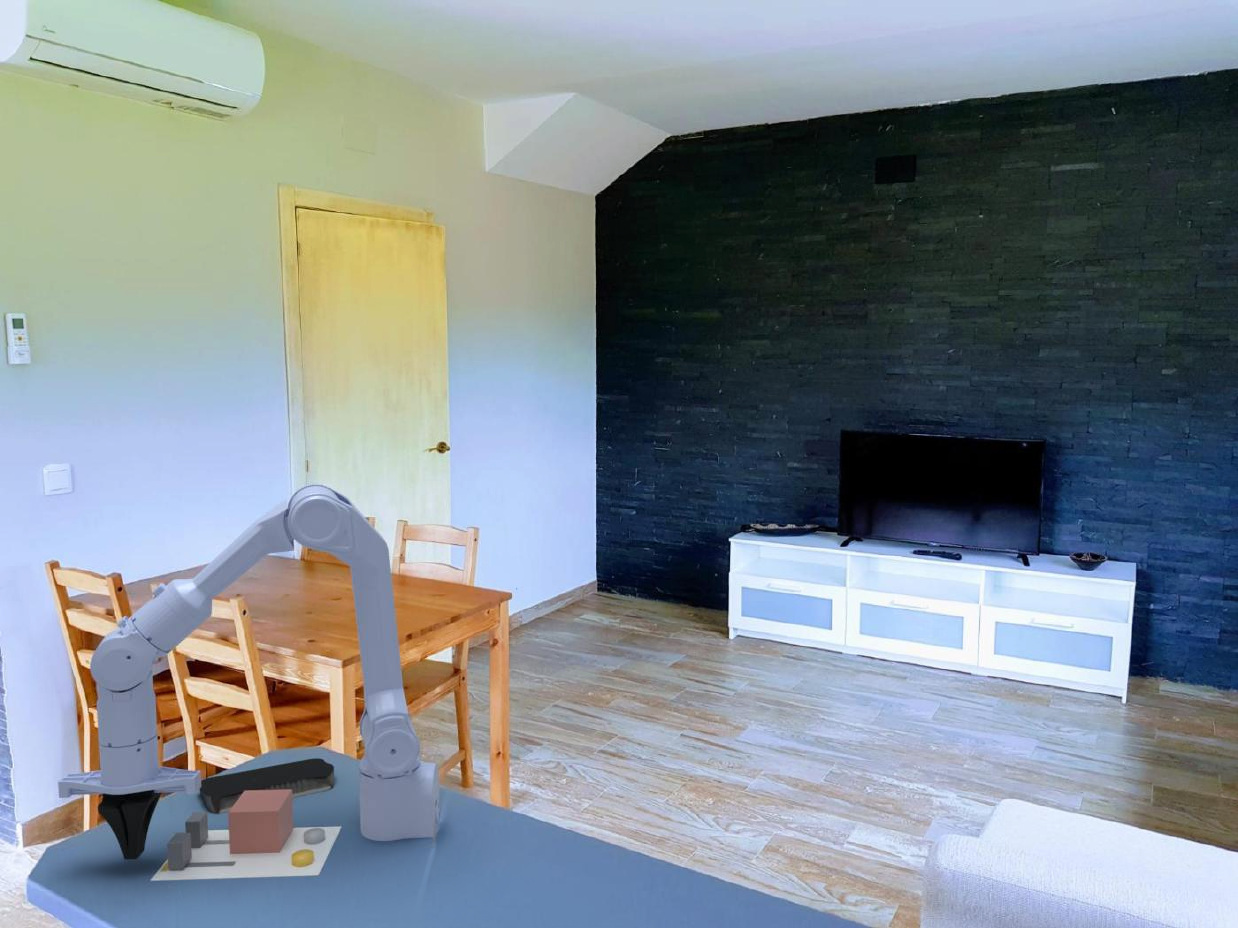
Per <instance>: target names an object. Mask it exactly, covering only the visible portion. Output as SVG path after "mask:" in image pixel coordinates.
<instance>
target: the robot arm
mask: <svg viewBox="0 0 1238 928" xmlns="http://www.w3.org/2000/svg"><path fill="white" fill-rule="evenodd" d="M294 540H295V541H294ZM295 542H296V543H298V544H299V545H301V546H303V547H305V548H308V549H311V550H315V551H318V552H325V553H328V554H331V556H334V557H335V558H337V560H340V561H341V562H343V563H344V564H346V565H348V567H349V568H350V576H351V586H352V595H353V603H354V604H353V605H354V611H355V613H354V614H355V621H356V622H355V623H356V629H357V638H358V639H357V640H358V646H359V648H358V649H359V657H360V665H361V666H360V667H361V674H362V683H363V699H364V700H363V701H364V709H363V713H362V714H361V715H362V716H361V717H360V719H359V720H360V721H359V729H358V730H359V734H360V736H361V738H362V742H363V746H364V754H363V756H362V758H361V759H360V761H359V763H358V777H359V778H358V780H359V781H358V783H359V785H358V786H359V816H360V817H359V821H360V822H359V825H360V833H361V835H362V836H363V837H365V838H366V839H368V840H371V841H376V842H393V841H398V840H404V839H421V838H425V839H426V838H432V841H431V844H430V849H433V847H434V844H435V840H436V835H437V833H438V829H439V825H440V821H441V809H440V775H439V773H440V772H439V765H438V763H437V762H436V763H435V762H429V761H427V762H426V761H423V760H421V757H420V753H421V743H420V742H421V741H420V740H419V736H418V735H417V733H416V731H415V728H414V726H413V723H412V719H411V713H410V712H409V710H408V704H407V700H406V697H405V696H406V695H405V689H404V682H403V681H404V680H403V671H402V663H401V653H400V645H399V636H398V625H397V617H396V615H397V614H396V609H395V608H396V607H395V598H394V590H393V588H394V587H393V578H392V570H391V562H390V560H391V559H390V551H389V547H388V543H387V542H386V539H385V538H384V537H383V536H382V534H381V533H380V532H379V531H378V530H377V529H376V528H375V527H374V526H373V524H371V522H370V521H369V520H368V519H367V518H366V517H365V516H364V515H363V514H362V513H361V512H360V510H358V508H357V507H356V506H355V505H354V503H352V501H351V500H350V499H349V498H348V497H347V496H345V495H344V494H342V493H340V492H338V491H336V490H334V489H332V488H331V487H329V486H327V485H323V484H318V483H314V484H313V483H312V484H308V485H307V484H306V485H304V486H302V487H301V488H299V489H298V490H296V491H295V492H294V493H293V494H292V496H291V497H290V499H289V502H287V499H284V500H282V501H281V502H279V503H277V504H276V505H275V506H274V507H272V508H270V509H269V510H268V511H267V512H265V513H264V514H263V515H262V516H260V517H259V518H257V519H256V520H255V521H253V523H251V524H250V525H249V527H248V528H246V529H245V530H244V531H243V532H242V533H241V534H240V535H239V536H238V537H237V538H235V539H234V540H233V542H231V543H230V544H229V545H228V546H227V547H226V548H224V549H223V550H222V551H221V552H220V553H219V554H218V555H217V556H216V557H215V558H214V559H213V560H212V561H210V562H209V564H207V565H206V566H205V567H204V568H203V569H202V570H201V571H200V572H199V573H198V574H197V575H195V576H194V577H192V578H185V579H184V578H177V579H173V580H172V581H170V582H169V583H168V584H167V585H166V584H165V583H164V582H160V583H159V584H158V585H157V586H155V588H153V590H152V592H151V594H152V595H153V596H152V598H151V599H150V600H148V601H147V602H146V603H145V604H143V605H142V606H140V608H139V609H138V610H137V611H135V612H134V613H133V614H131V616H130V617H128V616H126V615H124V616H123V617H122V618H121V619H119V620H118V622H117V623H116V626H117V628H116V629H113V630H112V631H110V632H109V633H107V634H106V635H104V636H105V637H103V639H101V642H100V643H99V644H98V646H97V648H96V649H95V651H94V652H93V654H92V656H91V660H90V663H89V664H90V665H89V668H90V669H89V670H90V673H91V677H92V679H93V680H94V681H95V682H96V692H97V700H96V713H97V715H96V717H97V733H98V750H99V768H100V769H99V770H92V771H87V772H86V771H85V772H77V773H67V774H65V775H64V776H63V777H62V778H61V779H60V780H57V781H58V782H57V783H58V785H57V786H58V798H59V799H63V798H64V799H65V798H66V799H67V798H71V797H72V796H77V795H78V796H81V795H82V796H83V795H102V798H101V802H100V803H99V804H98V805H97V811H98V814H99V815H101V817H102V818H103V819H104V820H105V821H106V823H107V824H108V826H109V827H110V828H111V830H112V832H113V834H114V835H115V838H116V841H117V843H118V845H119V847H120V850H121V853H122V855H123V859H124V860H137V859H138V858H140V856H141V855H142V854H143V853H144V851H145V849H146V847H145V846H146V842H147V841H146V840H147V835H148V832H149V828H150V825H151V824H150V823H151V821H152V818H153V814H154V812H155V809H156V807H157V806H158V803H159V801H160V798H161V796H162V795H163V793H185V795H195V794H197V792H198V791H200V790H199V789H200V787H201V780H202V772H201V771H202V770H199V769H198V770H193V769H192V770H189V769H180V768H177V767H176V768H175V767H167V766H162V765H161V766H160V764H159V763H160V761H159V745H158V744H159V743H158V724H157V704H156V703H157V701H156V693H155V690H154V680H153V669H152V668H153V664H154V663H155V662H156V660H157V659H160V658H163V657H166V656H167V655H168V654H170V653H171V652H172V651H174V649H175V648H176V647H178V646H179V645H180V644H181V643H182V642H183V641H184V640H186V639H187V638H188V637H189V636H190V635H191V634H193V633H194V632H195V631H196V630H197V629H198V628H199V627H200V626H202V625H203V624H204V623H205V622H206V621H207V620H208V619H209V618H211V617H212V614H213V599H215V598H216V597H217V596H219V595H220V594H221V593H222V592H223V591H225V590H226V589H227V588H229V586H231V585H233V583H235V582H236V581H237V580H238V579H239V578H240V577H242V576H243V575H244V574H246V573H247V572H248V571H249V570H251V569H252V568H253V567H254V566H255V565H256V564H258V563H260V561H261V560H262V559H263V558H265V557H267V556H268V555H270V554H276V553H277V554H279V553H286V552H292V551H294V550H295Z"/></svg>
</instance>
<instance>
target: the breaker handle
mask: <svg viewBox="0 0 1238 928" xmlns="http://www.w3.org/2000/svg"><path fill="white" fill-rule="evenodd" d="M166 847H167V859H168V870H171V869H184V867H185V866H186V865H187V864H188V862H189V861H190V860H191V858H192V852H191V833H186V832H176V833H175V834H174V835H173V836H172V837H171V838H170V840H169V841H168V842H167V846H166Z"/></svg>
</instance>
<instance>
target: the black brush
mask: <svg viewBox="0 0 1238 928" xmlns="http://www.w3.org/2000/svg"><path fill="white" fill-rule="evenodd" d="M334 786H335V766H334V765H333V764H332V763H328V762H327V761H325V759H323V758H309V759H302V760H298V761H297V760H296V761H290V762H286V763H282V764H280V763H279V764H277V765H270V766H266V767H265V766H264V767H259V768H254V769H250V770H245V771H239V772H234V773H228V774H221V775H217V776H211V777H207V778H204V779H201V787H200V789H199V790H198V791H199V792H200V795H201V799H202V800H203V801H204V802H205V806H206V809H207V812H209V813H212V814H217V815H218V814H220V815H221V814H225V813H228V812H229V811H230V810H231V808H232V807H233V806H234V804H235V803H236V802H237V800H238V799H239V798H240V796H241V795H242V794H243V792H244V791H248V790H286V789H292V799H294V798H298V797H299V798H300V797H303V796H307V795H312V794H317V793H320V792H325V791H328V790H331V789H334Z"/></svg>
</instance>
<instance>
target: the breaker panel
mask: <svg viewBox="0 0 1238 928" xmlns="http://www.w3.org/2000/svg"><path fill="white" fill-rule="evenodd" d="M184 822H185V823H184V825H185V833H191V852H192V858H191V860H190V861H189V862H188V864H187V865H186V866H185V867H184V869H171V870H168V858H167V859H166V860H165V862H164V863H163V864H162V865H161V867H160V868H159V869H158V870H157V872H156V873H155V874H154V875H153V876H152V878H151V879H150V882H156V881H157V882H158V881H187V880H189V881H190V880H218V879H221V880H222V879H247V878H249V879H251V878H278V877H283V878H284V877H307V876H308V877H309V876H310V877H311V876H313V877H315V876H317V877H318V876H320V874H321V872H322V869H323V867H324V865H325V862H326V860H327V859H328V857H329V855H330V852H331V851H332V848H333V846H334V844H335V842H336V840H337V838H338V835H339V833H340V831H341V829H342V826H341V825H340V826H316V827H315V826H313V827H310V826H309V827H308V826H307V827H293V830H292V832H291V834H290V836H289V837H288V839H287V841H286V843H285V844H284V846H283V848H282V849H281V851H280V853H251V854H230V843H229V829H213V830H211V829H210V830H209V824H208V811H199V812H198V811H196V812H194V811H193V812H192V813H191V814H190V815H189V817H188V818H187V819H186V820H185V821H184Z"/></svg>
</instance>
